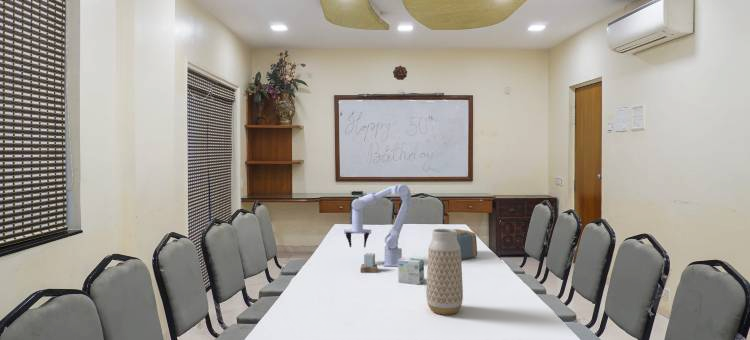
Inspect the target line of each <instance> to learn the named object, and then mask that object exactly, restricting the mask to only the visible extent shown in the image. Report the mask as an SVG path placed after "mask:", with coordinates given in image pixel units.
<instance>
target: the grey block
mask: <svg viewBox="0 0 750 340" xmlns="http://www.w3.org/2000/svg"><path fill="white" fill-rule="evenodd" d="M375 262H376V253H372V252H366V253H365V254H364V255H363V264H364V267H374V266H375V264H376V263H375Z"/></svg>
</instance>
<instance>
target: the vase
mask: <svg viewBox="0 0 750 340" xmlns="http://www.w3.org/2000/svg"><path fill="white" fill-rule="evenodd" d="M427 254H428V255H427V269H426V271H427V272H426V292H425V293H426V294H425V295H426V302H427V305H428V308H429V309H430V310H431V312H433V313H434V314H437V315H442V316H443V315H444V316H445V315H449V316H451V315H454V314H456V313H458V312H459V311H460V309H461V307H462V304H463V300H464V299H463V298H464V297H463V296H464V288H463V287H464V286H463V270H462V269H463V267H462V265H463V264H462V260H461V249H460V245H459V243H458V241H457V231H456V230H453V228H452V229H451V228H435V229H433V230H432V238H431V241H430V243H429V245H428V252H427Z"/></svg>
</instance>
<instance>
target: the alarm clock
mask: <svg viewBox="0 0 750 340" xmlns="http://www.w3.org/2000/svg"><path fill="white" fill-rule="evenodd" d="M452 229H453V228H452ZM453 230H456V231H457V241H458V243H459V245H460V249H461V261H463V260H469V259H474V258H477V256H478V245H477V235H476V233H474V232H472V231H470V230H466V229H459V228H454V229H453Z"/></svg>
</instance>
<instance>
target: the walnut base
mask: <svg viewBox="0 0 750 340" xmlns="http://www.w3.org/2000/svg"><path fill="white" fill-rule="evenodd" d="M360 273H361V274H376V273H378V264H377V263H375V266H374V267H364V263H362V264H361V266H360Z"/></svg>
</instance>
